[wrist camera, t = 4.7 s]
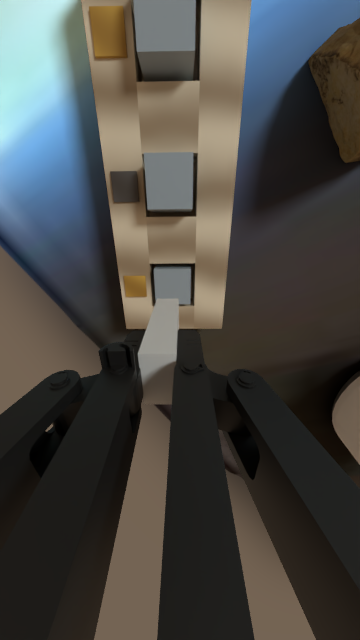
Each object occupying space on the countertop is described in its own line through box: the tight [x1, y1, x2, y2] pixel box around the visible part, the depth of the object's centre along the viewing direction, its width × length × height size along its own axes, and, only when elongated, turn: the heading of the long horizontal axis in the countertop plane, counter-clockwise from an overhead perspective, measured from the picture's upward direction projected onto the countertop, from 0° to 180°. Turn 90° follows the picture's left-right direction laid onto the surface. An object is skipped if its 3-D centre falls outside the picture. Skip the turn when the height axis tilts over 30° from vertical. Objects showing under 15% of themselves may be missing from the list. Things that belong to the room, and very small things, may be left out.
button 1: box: [133, 0, 196, 82], centre depth 14 cm, size 4×4×3 cm
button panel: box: [81, 0, 251, 329], centre depth 20 cm, size 30×12×4 cm, turn 0°
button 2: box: [154, 264, 191, 304], centre depth 23 cm, size 4×4×3 cm
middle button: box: [144, 152, 193, 212], centre depth 18 cm, size 4×4×3 cm
